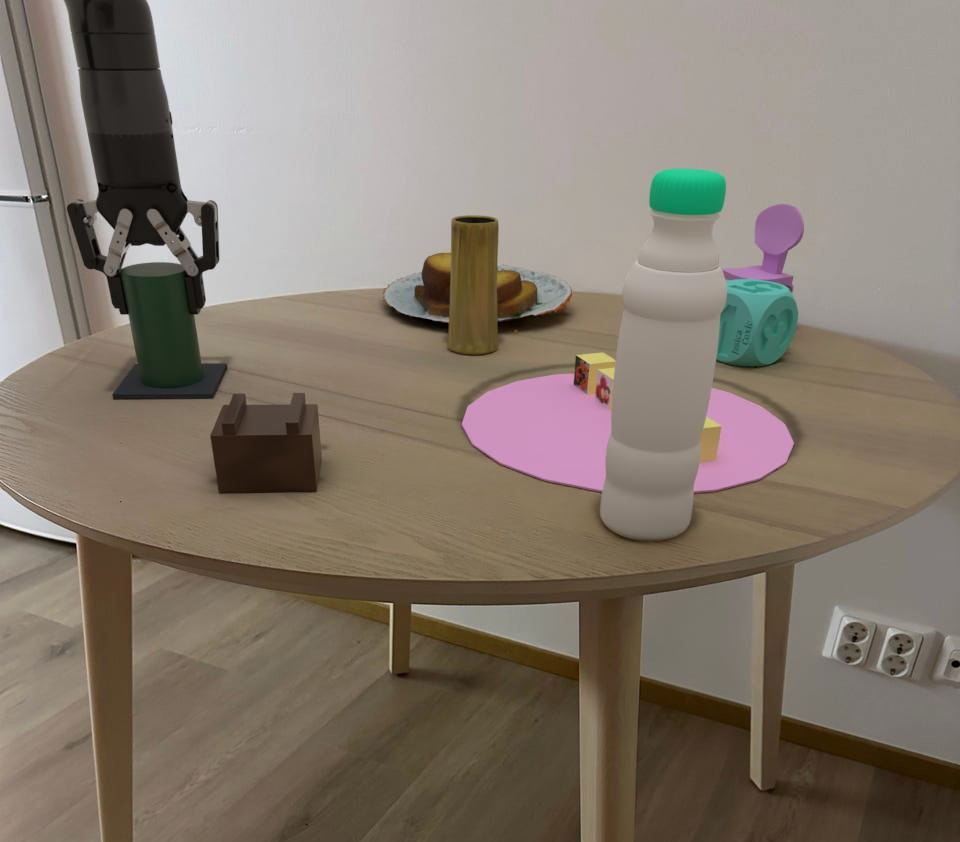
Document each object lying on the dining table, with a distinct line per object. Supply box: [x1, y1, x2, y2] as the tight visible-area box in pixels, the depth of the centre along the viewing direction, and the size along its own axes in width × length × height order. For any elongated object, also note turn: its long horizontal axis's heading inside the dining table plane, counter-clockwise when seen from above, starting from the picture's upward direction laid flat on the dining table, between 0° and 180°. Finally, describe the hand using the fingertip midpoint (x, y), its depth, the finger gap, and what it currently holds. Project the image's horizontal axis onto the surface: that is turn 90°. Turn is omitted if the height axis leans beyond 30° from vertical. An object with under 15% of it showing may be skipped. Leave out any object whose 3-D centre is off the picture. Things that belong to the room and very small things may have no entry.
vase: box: [446, 214, 500, 356], centre depth 107 cm, size 6×6×14 cm
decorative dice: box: [716, 279, 799, 368], centre depth 108 cm, size 8×8×8 cm
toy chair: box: [722, 203, 805, 294], centre depth 114 cm, size 8×9×15 cm
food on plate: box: [382, 252, 573, 333], centre depth 124 cm, size 25×25×7 cm
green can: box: [120, 261, 203, 388], centre depth 95 cm, size 6×11×6 cm
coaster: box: [111, 362, 228, 400], centre depth 98 cm, size 10×10×1 cm
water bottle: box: [599, 167, 727, 542], centre depth 66 cm, size 7×7×25 cm
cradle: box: [209, 392, 323, 494], centre depth 77 cm, size 8×7×6 cm
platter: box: [461, 351, 795, 494], centre depth 89 cm, size 32×32×3 cm
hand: (161, 312), depth 94 cm, fingers closed on green can, 6 cm apart
